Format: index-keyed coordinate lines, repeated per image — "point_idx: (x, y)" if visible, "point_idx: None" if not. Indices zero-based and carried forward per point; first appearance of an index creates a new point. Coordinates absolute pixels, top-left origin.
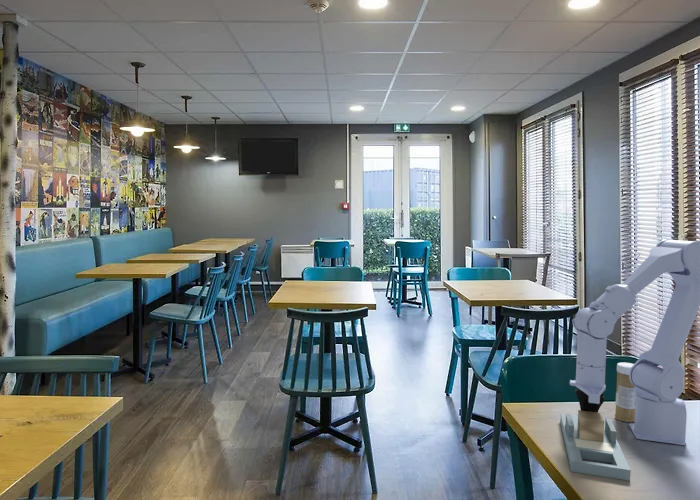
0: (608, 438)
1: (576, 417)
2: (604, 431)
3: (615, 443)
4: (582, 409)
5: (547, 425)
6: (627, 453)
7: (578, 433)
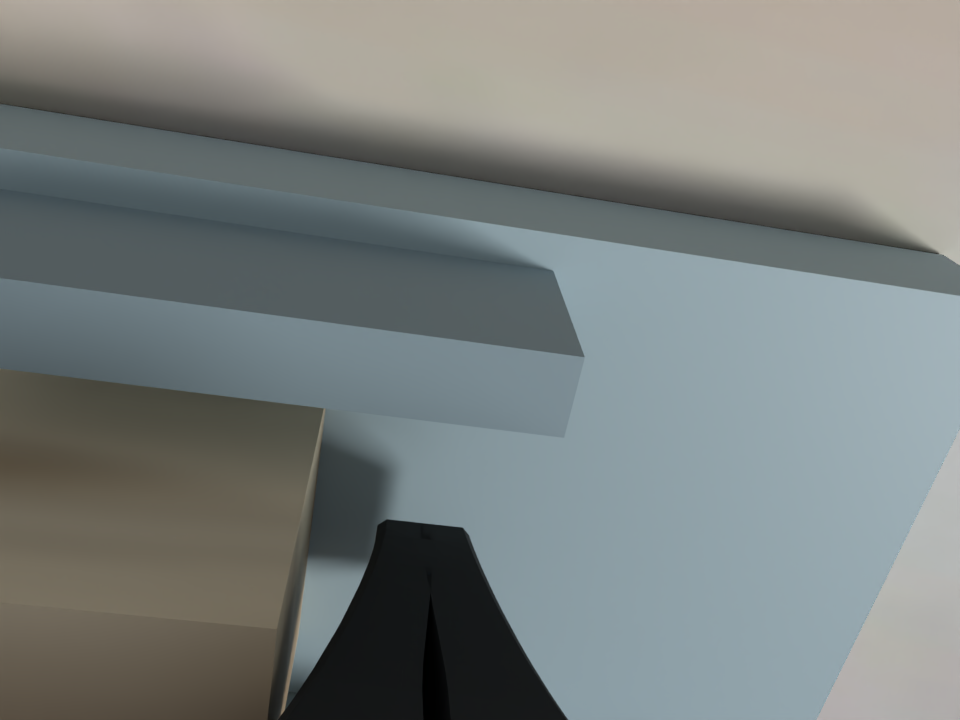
0: None
1: (837, 488)
2: None
3: None
4: (293, 713)
5: (806, 12)
6: None
7: None
